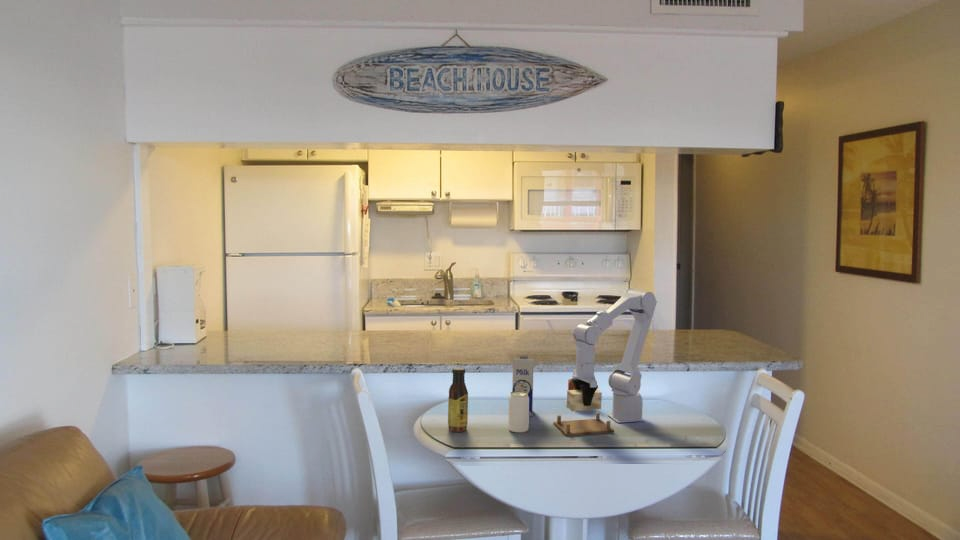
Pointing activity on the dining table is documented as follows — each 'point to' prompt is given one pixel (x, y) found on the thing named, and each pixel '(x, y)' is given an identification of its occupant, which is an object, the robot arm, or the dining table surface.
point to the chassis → (583, 426)
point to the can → (518, 412)
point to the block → (577, 401)
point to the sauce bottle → (458, 402)
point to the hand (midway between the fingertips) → (584, 403)
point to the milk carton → (524, 378)
